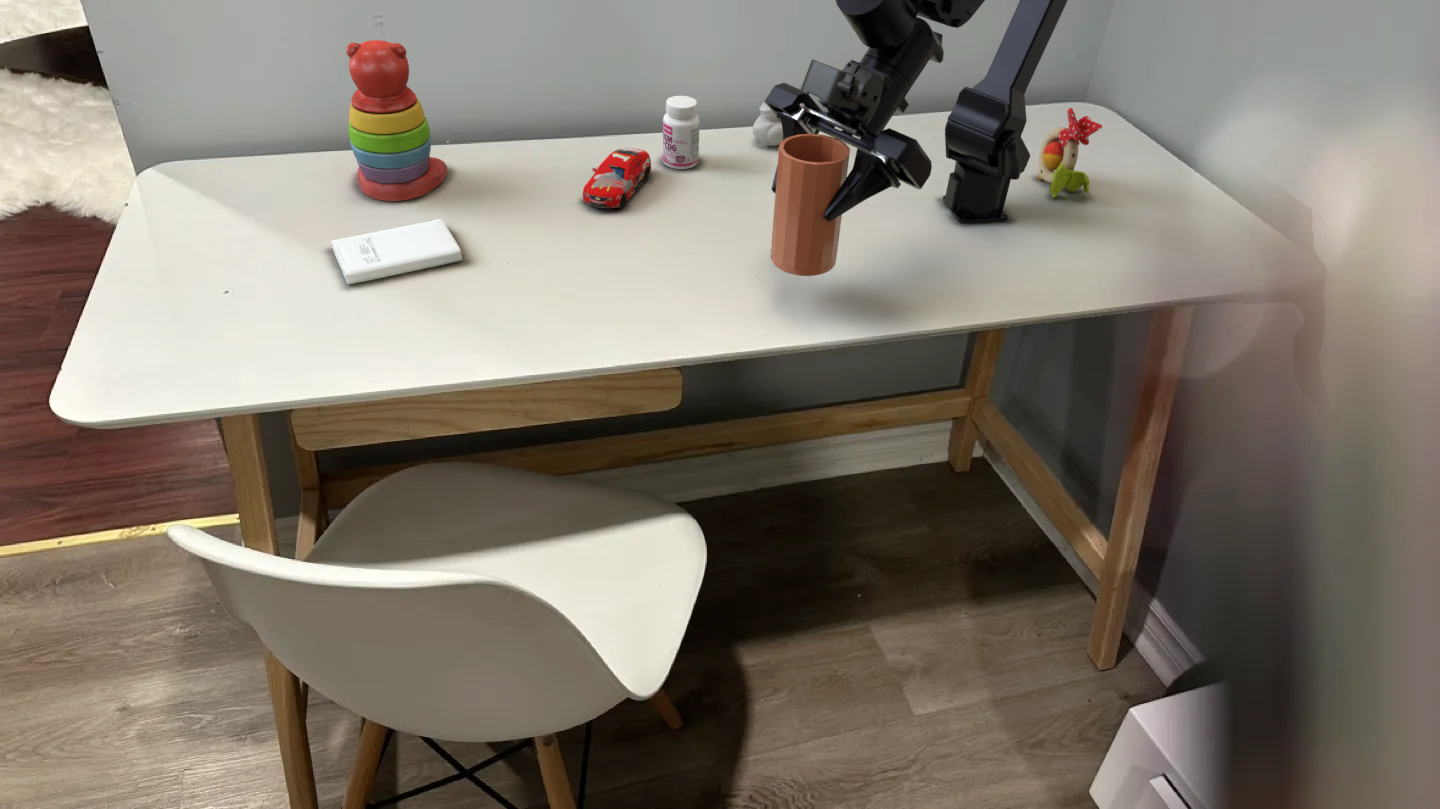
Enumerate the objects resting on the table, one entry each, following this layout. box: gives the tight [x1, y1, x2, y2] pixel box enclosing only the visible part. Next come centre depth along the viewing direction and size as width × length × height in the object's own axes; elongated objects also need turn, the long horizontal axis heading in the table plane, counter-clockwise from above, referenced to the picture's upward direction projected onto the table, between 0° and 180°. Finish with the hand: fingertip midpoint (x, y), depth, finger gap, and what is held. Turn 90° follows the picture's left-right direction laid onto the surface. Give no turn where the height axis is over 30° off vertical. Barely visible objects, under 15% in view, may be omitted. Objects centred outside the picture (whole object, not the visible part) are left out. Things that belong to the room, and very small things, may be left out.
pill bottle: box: [662, 95, 701, 170], centre depth 130 cm, size 5×5×8 cm
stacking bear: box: [345, 39, 448, 202], centre depth 119 cm, size 11×10×18 cm
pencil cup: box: [770, 133, 851, 277], centre depth 102 cm, size 7×7×12 cm
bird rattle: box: [1037, 107, 1103, 199], centre depth 129 cm, size 6×11×9 cm
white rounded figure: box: [752, 87, 783, 147], centre depth 137 cm, size 5×7×8 cm
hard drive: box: [330, 218, 463, 285], centre depth 111 cm, size 2×8×12 cm
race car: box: [582, 147, 652, 209], centre depth 125 cm, size 13×5×4 cm, turn 161°
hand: (799, 205), depth 101 cm, fingers closed on pencil cup, 7 cm apart
